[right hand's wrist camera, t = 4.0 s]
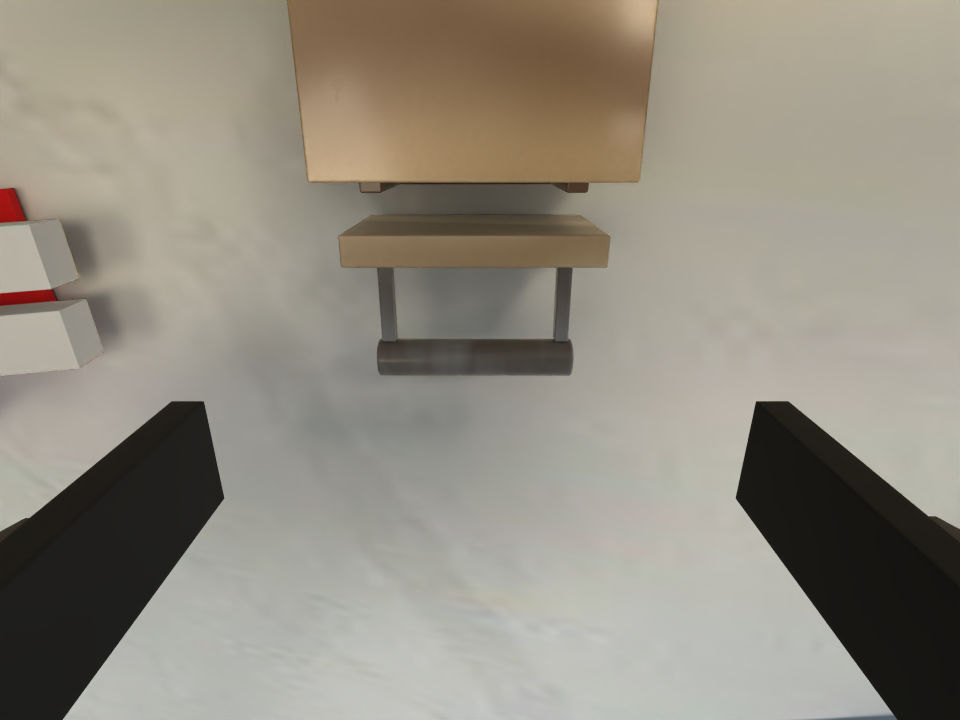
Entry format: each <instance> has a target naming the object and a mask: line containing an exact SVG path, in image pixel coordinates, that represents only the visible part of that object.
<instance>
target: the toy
mask: <svg viewBox="0 0 960 720" xmlns="http://www.w3.org/2000/svg"><path fill="white" fill-rule="evenodd" d="M77 279H79V275H78V272H77V269H76V266H75V263H74V260H73V257H72V254H71V251H70V248H69V245H68V242H67V239H66V236H65V233H64V230H63V227H62V224H61V221H60V219H51V220H36V221H26V220H25V217H24V214H23V212H22V209H21V206H20V204H19V201H18V198H17V196H16V193H15V191H14V188H10V189H0V376H6V375H17V374H27V373H37V372H48V371H58V370H68V369H79V368H81V367H82V366H84V365H85V364H87V363H89V362H90V361H92V360H93V359H95V358H96V357H98V356H99V355H101V354H102V353H104V351H103V348H102V345H101V341H100V338H99V335H98V332H97V329H96V326H95V323H94V320H93V317H92V314H91V311H90V308H89V305H88V302H87V299H77V300H65V301H56V298H55V296H54V293H53V290H52V289H53V288H56V287H58V286H61V285H63V284H66V283H69V282H71V281H74V280H77Z"/></svg>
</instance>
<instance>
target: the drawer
mask: <svg viewBox="0 0 960 720" xmlns="http://www.w3.org/2000/svg"><path fill="white" fill-rule="evenodd" d="M399 184H552V185H554V186H556V187H558V188H560V189H562V190H564V191H566V192H568V193H586V192H588V185H589V183H359V185H360V192H361V193H381V192H383V191H385V190H387V189H390V188H392V187H394V186H396V185H399ZM338 241H339V251H340V262H341V267H377V270H378V284H379V298H380V312H381V326H382V339H380V340H379V343H378V348H377V366H378V371H379V374H380V375H415V376H569V375H571V373H572V368H573V346H572V342H571V340H570V339H568V331H569V315H570V300H571V284H572V269H573V268H606V267H607V266H608V257H609V246H610V235H608V234H607V233H605V232H604V231H602V230H601V229H599V228H598V227H596V226H595V225H594V224H592V223H591V222H589V221H588V220H586V219H585V218H583V217H582V216H580V215H371V216H369V217H368V218H366V219H365V220H363V221H361V222H360V223H358V224H357V225H355V226H353V227H352V228H350V229H348V230H347V231H345V232H344V233H342V234H340V235H339V236H338ZM394 267H445V268H556V287H555V305H554V324H553V338H554V339H397V337H398V333H397V317H396V300H395V284H394Z"/></svg>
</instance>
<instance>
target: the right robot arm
mask: <svg viewBox="0 0 960 720" xmlns="http://www.w3.org/2000/svg"><path fill="white" fill-rule="evenodd" d="M223 499H224V495H223V490H222V485H221V480H220V476H219V471H218V466H217V461H216V457H215V452H214V447H213V442H212V438H211V433H210V428H209V423H208V419H207V414H206V409H205V404H204V401H172V402H170V403H169V404H168V405H167V406H165V407H164V408H163V409H162V410H161V411H159V412H158V413H157V414H156V415H155V416H153V417H152V418H151V419H150V420H148V421H147V422H146V423H145V424H144V425H142V426H141V427H140V428H139V429H137V430H136V431H135V432H134V433H133V434H131V435H130V436H129V437H128V438H127V439H125V440H124V441H123V442H122V443H120V444H119V445H118V446H117V447H116V448H114V449H113V450H112V451H111V452H109V453H108V454H107V455H106V456H105V457H103V458H102V459H101V460H100V461H99V462H97V463H96V464H95V465H94V466H92V467H91V468H90V469H89V470H88V471H86V472H85V473H84V474H83V475H81V476H80V477H79V478H78V479H77V480H75V481H74V482H73V483H72V484H71V485H69V486H68V487H67V488H66V489H64V490H63V491H62V492H61V493H60V494H58V495H57V496H56V497H55V498H53V499H52V500H51V501H50V502H49V503H47V504H46V505H45V506H44V507H43V508H41V509H40V510H39V511H38V512H36V513H35V514H34V515H33V516H32V517H30V518H25V519H23V520H21V521H19V522H17V523H15V524H13V525H12V526H10V527H8V528H6V529H4V530H2V531H0V720H63V718H64V717H65V716H66V714H67V713H68V712H69V710H70V709H71V707H72V706H73V705H74V703H75V702H76V701H77V699H78V698H79V696H80V695H81V694H82V692H83V691H84V690H85V688H86V687H87V686H88V684H89V683H90V681H91V680H92V679H93V677H94V676H95V675H96V673H97V672H98V670H99V669H100V668H101V666H102V665H103V664H104V662H105V661H106V659H107V658H108V657H109V655H110V654H111V653H112V651H113V650H114V649H115V647H116V646H117V644H118V643H119V642H120V640H121V639H122V638H123V636H124V635H125V633H126V632H127V631H128V629H129V628H130V627H131V625H132V624H133V623H134V621H135V620H136V618H137V617H138V616H139V614H140V613H141V612H142V610H143V609H144V607H145V606H146V605H147V603H148V602H149V601H150V599H151V598H152V597H153V595H154V594H155V592H156V591H157V590H158V588H159V587H160V586H161V584H162V583H163V581H164V580H165V579H166V577H167V576H168V575H169V573H170V572H171V571H172V569H173V568H174V566H175V565H176V564H177V562H178V561H179V560H180V558H181V557H182V555H183V554H184V553H185V551H186V550H187V549H188V547H189V546H190V545H191V543H192V542H193V540H194V539H195V538H196V536H197V535H198V534H199V532H200V531H201V529H202V528H203V527H204V525H205V524H206V523H207V521H208V520H209V519H210V517H211V516H212V514H213V513H214V512H215V510H216V509H217V508H218V506H219V505H220V503H221V502H222V501H223ZM736 499H737V501H738V502H739V503H740V505H741V506H742V508H743V509H744V510H745V512H746V513H747V514H748V516H749V517H750V519H751V520H752V521H753V523H754V524H755V525H756V527H757V528H758V529H759V531H760V532H761V534H762V535H763V536H764V538H765V539H766V540H767V542H768V543H769V545H770V546H771V547H772V549H773V550H774V551H775V553H776V554H777V555H778V557H779V558H780V560H781V561H782V562H783V564H784V565H785V566H786V568H787V569H788V571H789V572H790V573H791V575H792V576H793V577H794V579H795V580H796V581H797V583H798V584H799V586H800V587H801V588H802V590H803V591H804V592H805V594H806V595H807V597H808V598H809V599H810V601H811V602H812V603H813V605H814V606H815V607H816V609H817V610H818V612H819V613H820V614H821V616H822V617H823V618H824V620H825V621H826V623H827V624H828V625H829V627H830V628H831V629H832V631H833V632H834V633H835V635H836V636H837V638H838V639H839V640H840V642H841V643H842V644H843V646H844V647H845V649H846V650H847V651H848V653H849V654H850V655H851V657H852V658H853V659H854V661H855V662H856V664H857V665H858V666H859V668H860V669H861V670H862V672H863V673H864V675H865V676H866V677H867V679H868V680H869V681H870V683H871V684H872V686H873V687H874V688H875V690H876V691H877V692H878V694H879V695H880V696H881V698H882V699H883V701H884V702H885V703H886V705H887V706H888V707H889V709H890V710H891V712H892V713H893V714H894V716H895V717H896V718H897V720H960V529H958V528H956V527H954V526H953V525H951V524H949V523H947V522H945V521H943V520H941V519H940V518H938V517H936V516H927V515H926V514H925V513H924V512H922V511H921V510H920V509H919V508H917V507H916V506H915V505H914V504H913V503H911V502H910V501H909V500H908V499H907V498H905V497H904V496H903V495H902V494H900V493H899V492H898V491H897V490H896V489H894V488H893V487H892V486H891V485H889V484H888V483H887V482H886V481H885V480H883V479H882V478H881V477H880V476H879V475H877V474H876V473H875V472H874V471H872V470H871V469H870V468H869V467H868V466H866V465H865V464H864V463H863V462H861V461H860V460H859V459H858V458H857V457H855V456H854V455H853V454H852V453H851V452H849V451H848V450H847V449H846V448H844V447H843V446H842V445H841V444H840V443H838V442H837V441H836V440H835V439H833V438H832V437H831V436H830V435H829V434H827V433H826V432H825V431H824V430H823V429H821V428H820V427H819V426H818V425H816V424H815V423H814V422H813V421H812V420H810V419H809V418H808V417H807V416H805V415H804V414H803V413H802V412H801V411H799V410H798V409H797V408H796V407H795V406H793V405H792V404H791V403H790V402H788V401H756V404H755V409H754V414H753V419H752V423H751V428H750V433H749V438H748V442H747V447H746V452H745V457H744V461H743V466H742V471H741V476H740V480H739V485H738V490H737V495H736Z"/></svg>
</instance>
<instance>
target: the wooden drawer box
mask: <svg viewBox="0 0 960 720" xmlns="http://www.w3.org/2000/svg"><path fill="white" fill-rule="evenodd" d="M658 1H659V0H287V4H288V13H289V22H290V31H291V40H292V48H293V57H294V66H295V75H296V84H297V93H298V101H299V110H300V119H301V128H302V137H303V146H304V154H305V163H306V172H307V180H308V182H310V183H637V182H639V181H640V173H641V164H642V154H643V145H644V135H645V126H646V116H647V106H648V97H649V87H650V78H651V68H652V59H653V49H654V39H655V30H656V20H657V11H658Z"/></svg>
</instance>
